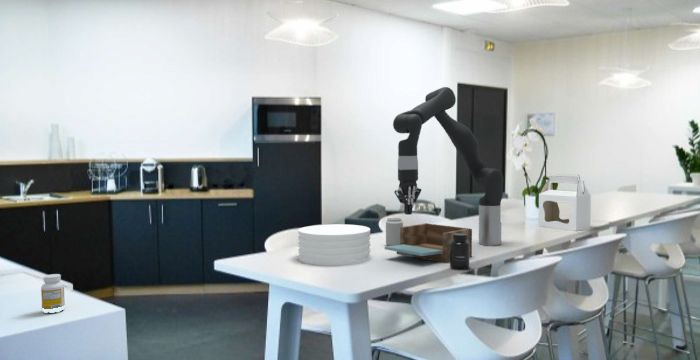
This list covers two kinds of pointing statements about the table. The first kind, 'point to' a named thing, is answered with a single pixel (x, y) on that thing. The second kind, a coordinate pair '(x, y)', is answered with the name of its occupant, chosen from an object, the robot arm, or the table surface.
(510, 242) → the table surface
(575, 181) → the gable box
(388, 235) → the can
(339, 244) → the plate stack
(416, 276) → the table surface
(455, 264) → the supplement bottle
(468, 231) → the crate
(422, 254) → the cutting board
